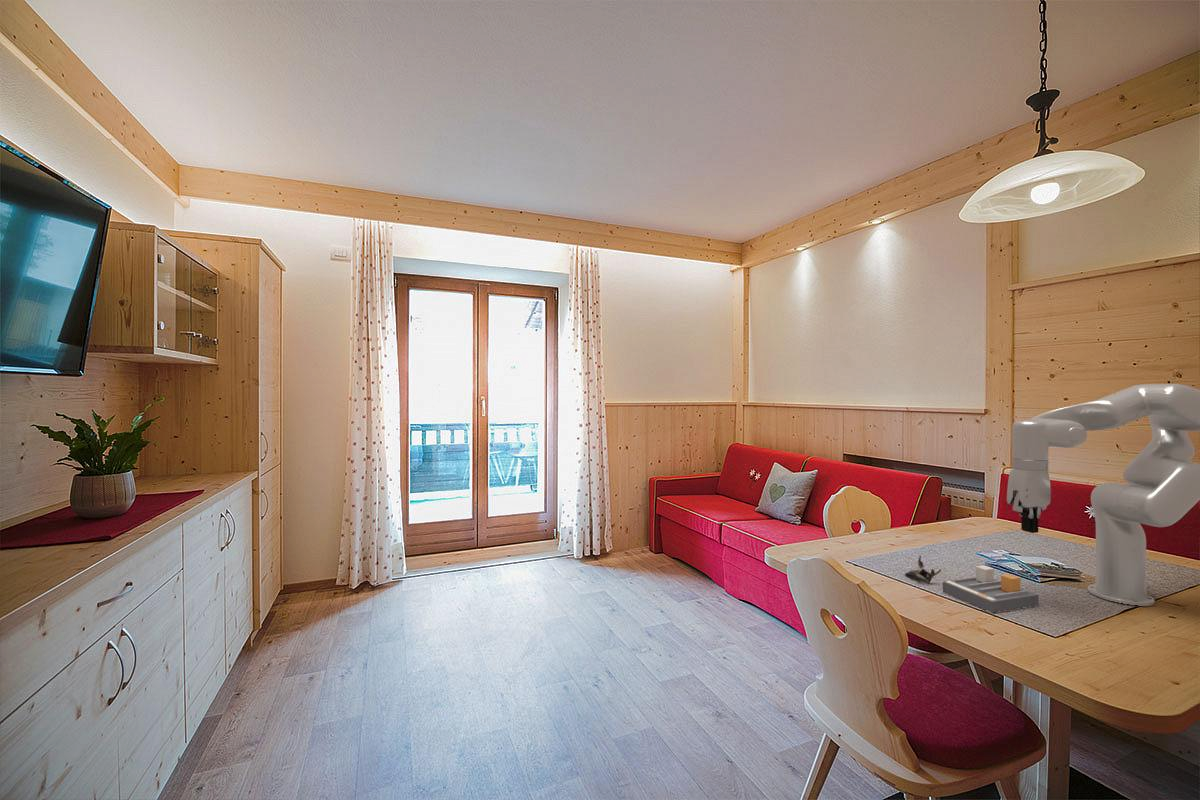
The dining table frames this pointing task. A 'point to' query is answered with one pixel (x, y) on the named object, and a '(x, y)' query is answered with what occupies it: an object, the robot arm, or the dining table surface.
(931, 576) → the eagle figurine
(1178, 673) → the dining table surface
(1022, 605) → the grey slotted tray
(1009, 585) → the orange tab
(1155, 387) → the robot arm
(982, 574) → the white block
